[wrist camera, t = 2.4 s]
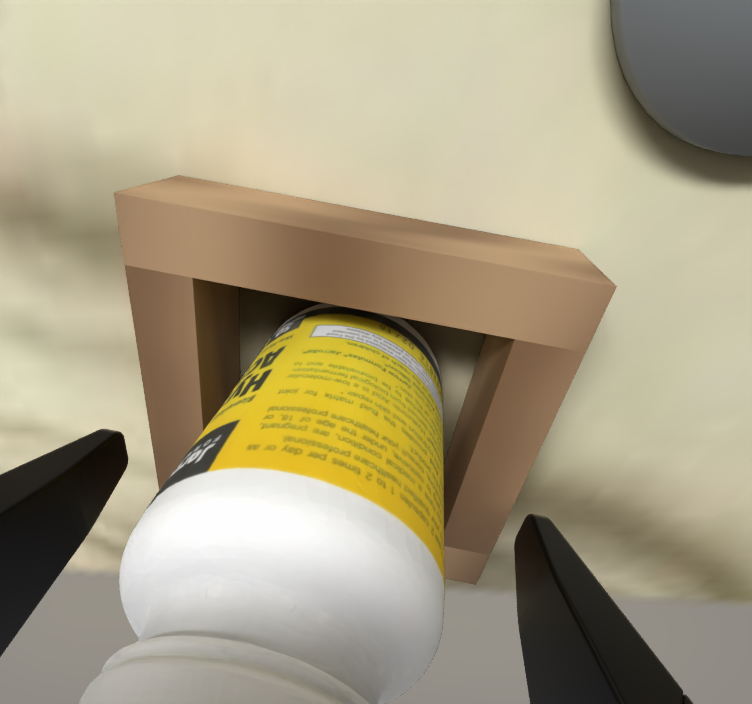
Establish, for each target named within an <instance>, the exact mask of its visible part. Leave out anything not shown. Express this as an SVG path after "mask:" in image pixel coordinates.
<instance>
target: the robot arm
mask: <svg viewBox="0 0 752 704" xmlns="http://www.w3.org/2000/svg"><path fill="white" fill-rule="evenodd" d="M127 464H128V454H127V449H126V444H125V439H124V435H123V434H122V433H121V432H119V431H114V430H109V429H100V430H98V431H96V432H93V433H91V434H89V435H87V436H85V437H82V438H80V439H78V440H76V441H74V442H71V443H69V444H67V445H65V446H63V447H60V448H58V449H56V450H54V451H52V452H49V453H47V454H45V455H43V456H41V457H38V458H36V459H34V460H32V461H30V462H27V463H25V464H23V465H21V466H19V467H16V468H14V469H12V470H10V471H8V472H5V473H3V474H1V475H0V657H1V655H2V654H3V652H4V651H5V650H6V648H7V647H8V645H9V644H10V643H11V641H12V640H13V638H14V637H15V636H16V634H17V633H18V631H19V630H20V629H21V627H22V626H23V625H24V623H25V622H26V620H27V619H28V617H29V616H30V615H31V613H32V612H33V611H34V609H35V608H36V606H37V605H38V604H39V602H40V601H41V599H42V598H43V597H44V595H45V594H46V592H47V591H48V590H49V588H50V587H51V585H52V584H53V582H54V581H55V580H56V578H57V577H58V576H59V574H60V573H61V571H62V570H63V569H64V567H65V566H66V564H67V563H68V562H69V560H70V559H71V557H72V556H73V555H74V553H75V552H76V550H77V549H78V548H79V546H80V545H81V543H82V542H83V541H84V539H85V538H86V536H87V535H88V533H89V532H90V530H91V528H92V527H93V525H94V524H95V522H96V520H97V518H98V517H99V515H100V513H101V511H102V510H103V508H104V506H105V505H106V503H107V501H108V499H109V498H110V496H111V494H112V492H113V491H114V489H115V487H116V485H117V484H118V482H119V480H120V478H121V477H122V475H123V473H124V472H125V470H126V467H127ZM514 550H515V571H516V593H517V613H518V624H519V632H520V639H521V646H522V652H523V659H524V665H525V672H526V678H527V685H528V692H529V698H530V704H693V703H692V701H691V700H690V699H689V698H688V696H687V695H683V690H682V689H681V687H680V686H679V685H678V683H677V682H676V681H675V680H674V678H673V677H672V676H671V674H670V673H669V672H668V671H667V669H666V668H665V667H664V665H663V664H662V663H661V662H660V660H659V659H658V658H657V656H656V655H655V654H654V652H653V651H652V650H651V649H650V648H649V646H648V645H647V643H646V642H645V641H644V640H643V638H642V637H641V636H640V635H639V633H638V632H637V631H636V629H635V628H634V627H633V626H632V624H631V623H630V622H629V620H628V619H627V618H626V616H625V615H624V614H623V613H622V611H621V610H620V609H619V607H618V606H617V605H616V604H615V602H614V601H613V600H612V598H611V597H610V596H609V595H608V593H607V592H606V591H605V589H604V588H603V587H602V585H601V584H600V583H599V582H598V580H597V579H596V578H595V576H594V575H593V574H592V573H591V571H590V570H589V569H588V567H587V566H586V565H585V564H584V562H583V561H582V560H581V558H580V557H579V556H578V555H577V553H576V552H575V551H574V549H573V548H572V547H571V546H570V544H569V543H568V542H567V540H566V539H565V538H564V537H563V535H562V534H561V533H560V531H559V530H558V529H557V528H556V526H555V525H554V524H553V522H552V521H551V520H550V519H549V518H547V517H545V516H540V515H535V514H529V515H527V517H526V518H525V520H524V522H523V524H522V526H521V528H520V530H519V532H518V534H517V536H516V539H515V546H514Z"/></svg>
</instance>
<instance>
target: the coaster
mask: <svg viewBox="0 0 752 704" xmlns="http://www.w3.org/2000/svg"><path fill="white" fill-rule="evenodd" d="M611 22H612V31H613V36H614V42H615V48H616V53H617V56H618V59H619V62H620V65H621V69H622V72H623V75H624V77H625V79H626V81H627V83H628V85H629V87H630V89H631V91H632V93H633V95H634V96H635V98H636V99H637V101H638V102H639V103H640V105H641V106H642V107H643V109H644V110H645V111H646V113H647V114H648V115H649V116H650V117H651V118H652V119H653V120H654V121H655V122H657V123H658V124H659V125H660V126H661V127H662V128H663V129H665V130H666V131H668V132H669V133H671V134H672V135H674V136H675V137H677V138H678V139H681V140H683V141H685V142H687V143H690V144H692V145H694V146H696V147H699V148H703V149H707V150H711V151H715V152H719V153H726V154H732V155H740V156H750V157H752V0H611Z"/></svg>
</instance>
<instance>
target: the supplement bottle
mask: <svg viewBox="0 0 752 704" xmlns="http://www.w3.org/2000/svg"><path fill="white" fill-rule="evenodd" d="M442 398H443V396H442V383H441V376H440V371H439V366H438V364H437V361H436V358H435V356H434V354H433V352H432V350H431V349H430V347H429V345H428V344H427V342H426V341H425V340H424V339H423V337H422V336H421V335H420V334H419V333H418V332H417V331H416V330H415V329H414V328H413V327H412V326H410V325H409V324H408V323H407V322H405V321H404V320H403V319H401V318H399V317H396V316H391V315H385V314H380V313H375V312H370V311H364V310H359V309H354V308H349V307H343V306H338V305H333V304H328V303H323V304H319V305H315V306H312V307H309V308H307V309H305V310H303V311H301V312H299V313H297V314H296V315H294V316H292V317H291V318H290V319H288V320H287V321H286V322H285V323H284V324H283V325H282V326H281V327H280V328H279V329H278V330H277V331H276V332H275V333H274V334H273V336H272V337H271V338H270V339H269V340H268V342H267V343H266V344H265V345H264V347H263V348H262V350H261V351H260V353H259V354H258V356H257V358H256V359H255V360H254V362H253V363H252V364H251V366H250V367H249V369H248V370H247V371H246V373H245V374H244V375H243V377H242V378H241V380H240V381H239V383H238V384H237V385H236V387H235V388H234V390H233V391H232V392H231V394H230V395H229V397H228V398H227V399H226V401H225V402H224V404H223V405H222V406H221V408H220V409H219V410H218V412H217V413H216V415H215V416H214V417H213V419H212V420H211V421H210V423H209V424H208V425H207V427H206V428H205V430H204V431H203V432H202V434H201V435H200V437H199V438H198V439H197V441H196V442H195V443H194V445H193V446H192V447H191V449H190V450H189V452H188V453H187V454H186V456H185V457H184V458H183V460H182V461H181V462H180V464H179V465H178V467H177V468H176V469H175V470H174V472H173V473H172V475H171V476H170V477H169V478H168V480H167V481H166V482H165V484H164V485H163V487H162V488H161V490H160V491H159V492H158V493H157V494H156V496H155V497H154V499H153V500H152V502H151V503H150V505H149V506H148V507H147V508H146V510H145V512H144V515H143V516H142V518H141V519H140V521H139V522H138V524H137V525H136V527H135V529H134V530H133V532H132V534H131V536H130V538H129V540H128V542H127V545H126V548H125V550H124V553H123V557H122V562H121V566H120V583H119V587H120V594H121V600H122V604H123V608H124V611H125V614H126V616H127V618H128V621H129V623H130V625H131V626H132V628H133V630H134V631H135V633H136V634H137V636H138V637H139V640H138V642H137V643H134V644H131V645H129V646H127V647H124V648H122V649H120V650H119V651H118V652H116V653H115V654H114V655H112V656H111V657H110V658H109V659H108V661H107V662H106V663H105V665H104V667H103V669H102V672H101V674H100V675H99V676H98V677H96V678H95V679H94V680H93V681H92V682H91V683H90V685H89V686H88V688H87V689H86V691H85V692H84V695H83V696H82V698H81V700H80V702H79V704H386V703H388V702H391V701H393V700H394V699H396V698H397V697H399V696H401V695H402V694H404V693H405V692H406V691H407V690H408V689H410V688H411V687H412V686H413V685H414V684H415V683H416V682H417V681H418V680H419V679H420V677H421V676H422V675H423V674H424V673H425V671H426V670H427V668H428V667H429V664H430V663H431V661H432V660H433V657H434V655H435V653H436V651H437V649H438V645H439V642H440V638H441V634H442V628H443V618H444V597H445V572H444V475H443V400H442Z"/></svg>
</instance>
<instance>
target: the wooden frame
mask: <svg viewBox="0 0 752 704" xmlns="http://www.w3.org/2000/svg"><path fill="white" fill-rule="evenodd" d="M114 198H115V205H116V211H117V218H118V224H119V231H120V237H121V244H122V250H123V257H124V263H125V270H126V276H127V283H128V289H129V296H130V303H131V309H132V316H133V322H134V329H135V335H136V342H137V348H138V355H139V361H140V368H141V374H142V381H143V387H144V394H145V400H146V407H147V413H148V420H149V426H150V433H151V439H152V446H153V453H154V459H155V466H156V472H157V479H158V485H159V491H160V490H161V488H162V487H163V485H164V484H165V482H166V481H167V480H168V478H169V477H170V476H171V475H172V473H173V472H174V470H175V469H176V468H177V467H178V465H179V464H180V462H181V461H182V460H183V458H184V457H185V456H186V454H187V453H188V452H189V450H190V449H191V447H192V446H193V445H194V443H195V442H196V441H197V439H198V438H199V437H200V435H201V434H202V432H203V431H204V430H205V428H206V427H207V425H208V424H209V423H210V421H211V420H212V419H213V417H214V416H215V415H216V413H217V412H218V410H219V409H220V408H221V406H222V405H223V404H224V402H225V401H226V399H227V398H228V397H229V395H230V394H231V392H232V391H233V390H234V388H235V387H236V385H237V384H238V383H239V381H240V353H239V287H244V288H249V289H254V290H259V291H265V292H270V293H275V294H280V295H286V296H291V297H296V298H301V299H307V300H312V301H317V302H322V303H328V304H333V305H338V306H343V307H349V308H354V309H359V310H364V311H370V312H375V313H380V314H385V315H391V316H396V317H401V318H406V319H411V320H417V321H422V322H427V323H432V324H438V325H443V326H448V327H453V328H459V329H464V330H469V331H474V332H480V333H485V334H486V336H485V339H484V342H483V345H482V349H481V352H480V355H479V358H478V361H477V364H476V367H475V370H474V373H473V376H472V379H471V382H470V385H469V389H468V392H467V395H466V398H465V401H464V404H463V407H462V410H461V413H460V416H459V419H458V422H457V426H456V429H455V432H454V435H453V438H452V441H451V444H450V447H449V450H448V453H447V456H446V459H445V463H444V466H443V475H444V572H445V578H446V579H451V580H456V581H461V582H466V583H470V584H475V585H476V584H477V582H478V579H479V577H480V575H481V573H482V571H483V569H484V567H485V565H486V562H487V560H488V558H489V556H490V554H491V552H492V550H493V548H494V546H495V543H496V541H497V539H498V537H499V535H500V533H501V531H502V529H503V526H504V524H505V522H506V520H507V518H508V516H509V514H510V512H511V509H512V507H513V505H514V503H515V501H516V499H517V497H518V495H519V493H520V490H521V488H522V486H523V484H524V482H525V480H526V478H527V476H528V473H529V471H530V469H531V467H532V465H533V463H534V461H535V459H536V457H537V454H538V452H539V450H540V448H541V446H542V444H543V442H544V440H545V437H546V435H547V433H548V431H549V429H550V427H551V425H552V423H553V420H554V418H555V416H556V414H557V412H558V410H559V408H560V406H561V404H562V401H563V399H564V397H565V395H566V393H567V391H568V389H569V387H570V384H571V382H572V380H573V378H574V376H575V374H576V372H577V370H578V367H579V365H580V363H581V361H582V359H583V357H584V355H585V353H586V351H587V348H588V346H589V344H590V342H591V340H592V338H593V336H594V334H595V331H596V329H597V327H598V325H599V323H600V321H601V319H602V317H603V314H604V312H605V310H606V308H607V306H608V304H609V302H610V300H611V298H612V295H613V293H614V291H615V289H616V287H617V286H616V285H615V284H614V283H613V282H612V281H611V280H610V279H608V278H607V277H606V276H605V275H604V274H603V273H602V272H601V271H600V270H599V269H598V268H597V267H596V266H595V265H594V264H593V263H592V262H591V261H590V260H589V259H588V258H587V257H586V256H585V255H584V254H583V253H582V252H581V251H580V250H578V249H573V248H568V247H563V246H557V245H552V244H546V243H541V242H536V241H530V240H525V239H519V238H514V237H509V236H503V235H498V234H492V233H487V232H482V231H476V230H471V229H465V228H460V227H455V226H449V225H444V224H438V223H433V222H427V221H422V220H417V219H411V218H406V217H400V216H395V215H390V214H384V213H379V212H373V211H368V210H363V209H357V208H352V207H346V206H341V205H336V204H330V203H325V202H319V201H314V200H309V199H303V198H298V197H292V196H287V195H282V194H276V193H271V192H265V191H260V190H255V189H249V188H244V187H238V186H233V185H228V184H222V183H217V182H211V181H206V180H201V179H195V178H190V177H184V176H175V177H171V178H167V179H163V180H160V181H156V182H152V183H148V184H144V185H141V186H137V187H133V188H129V189H125V190H121V191H118V192H114Z"/></svg>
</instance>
